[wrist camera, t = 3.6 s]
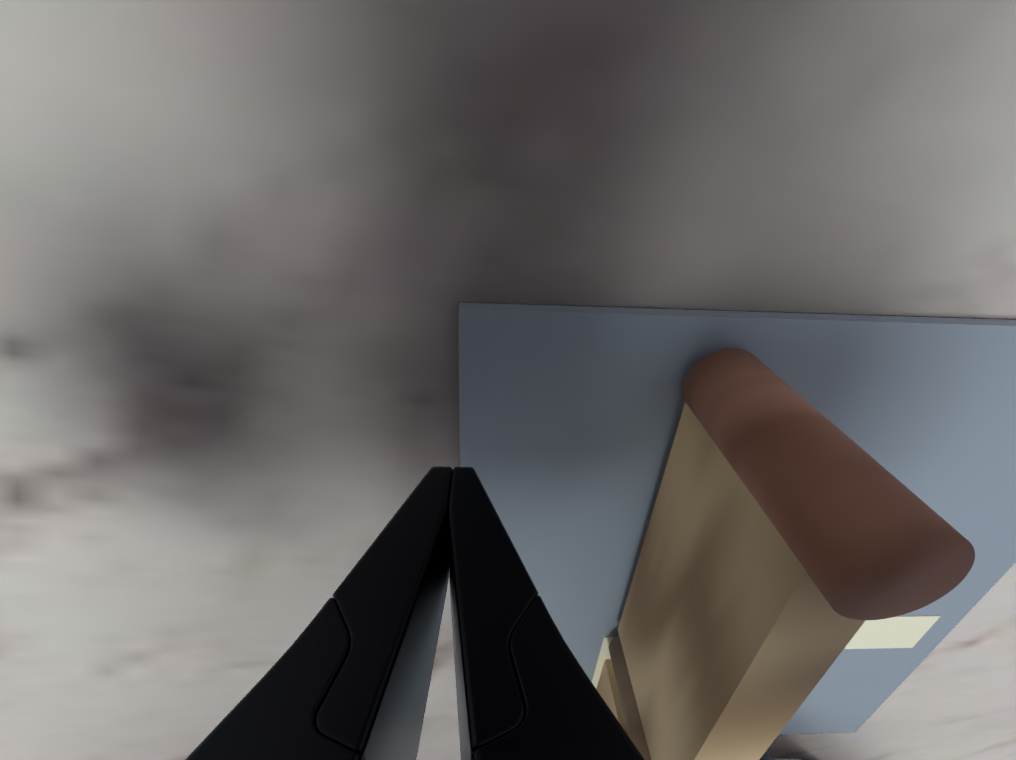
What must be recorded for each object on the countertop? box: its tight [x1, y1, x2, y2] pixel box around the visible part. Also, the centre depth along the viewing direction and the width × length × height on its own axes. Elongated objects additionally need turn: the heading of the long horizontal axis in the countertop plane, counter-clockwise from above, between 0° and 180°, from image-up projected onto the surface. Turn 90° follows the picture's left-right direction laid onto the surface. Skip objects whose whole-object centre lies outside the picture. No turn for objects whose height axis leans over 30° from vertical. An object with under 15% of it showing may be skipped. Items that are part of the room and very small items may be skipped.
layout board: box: [458, 302, 1016, 735], centre depth 15 cm, size 20×18×1 cm
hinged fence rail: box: [609, 349, 975, 760], centre depth 10 cm, size 12×2×5 cm, turn 177°
